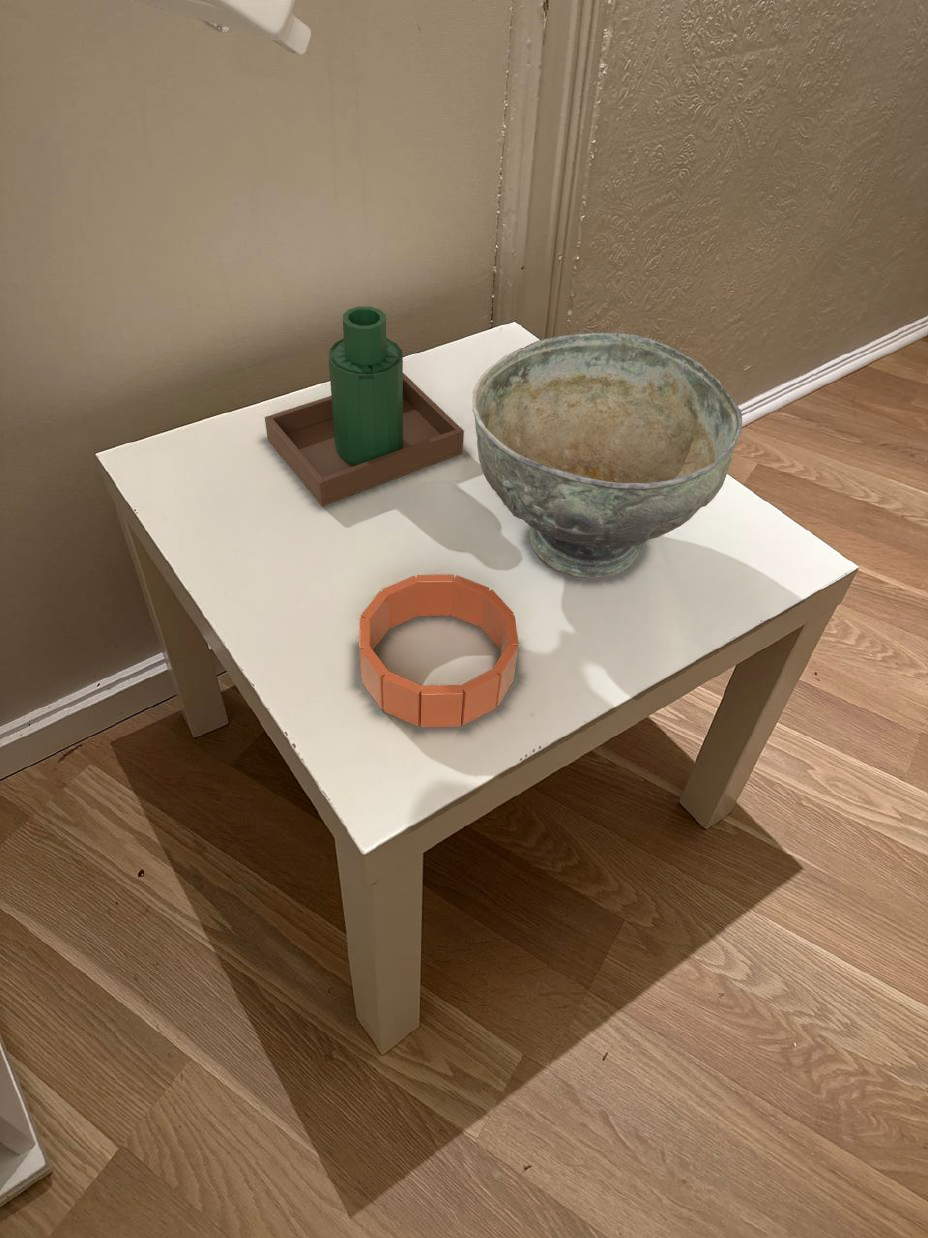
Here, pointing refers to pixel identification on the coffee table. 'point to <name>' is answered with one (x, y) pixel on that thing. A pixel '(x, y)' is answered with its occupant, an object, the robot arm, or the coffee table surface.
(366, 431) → the bottle
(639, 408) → the bowl
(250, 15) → the robot arm
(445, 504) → the coffee table surface
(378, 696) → the orange ring
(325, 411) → the tray
